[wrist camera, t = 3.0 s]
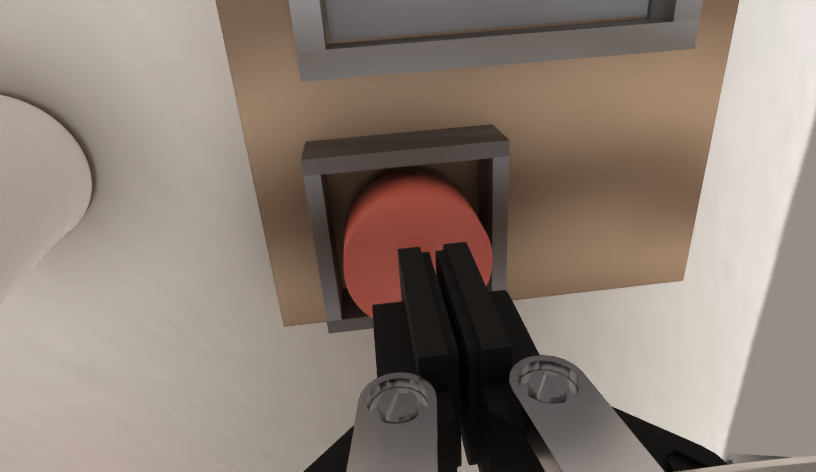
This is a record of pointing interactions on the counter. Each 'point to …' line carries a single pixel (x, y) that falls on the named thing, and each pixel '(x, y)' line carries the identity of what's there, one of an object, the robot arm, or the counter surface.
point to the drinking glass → (36, 188)
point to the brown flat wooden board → (481, 131)
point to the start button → (405, 232)
